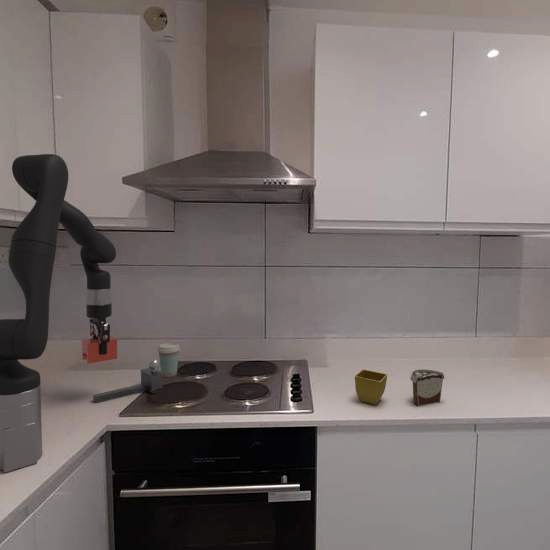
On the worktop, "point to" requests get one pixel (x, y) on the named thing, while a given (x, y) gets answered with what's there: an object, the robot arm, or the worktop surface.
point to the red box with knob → (92, 350)
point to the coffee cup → (168, 358)
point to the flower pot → (370, 386)
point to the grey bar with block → (148, 383)
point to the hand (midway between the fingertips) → (99, 351)
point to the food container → (426, 386)
